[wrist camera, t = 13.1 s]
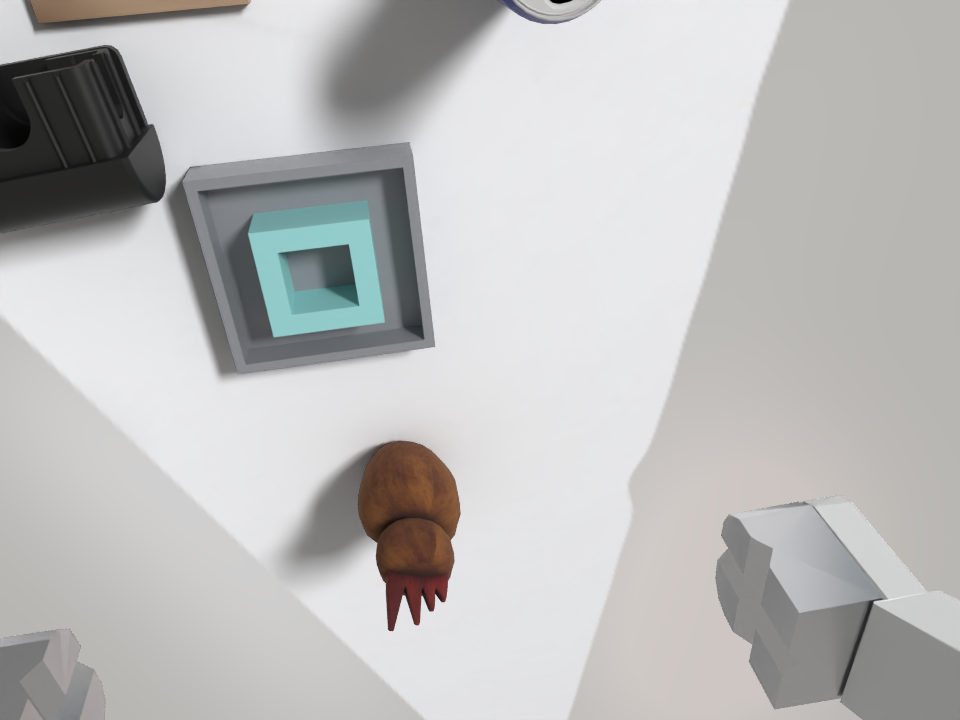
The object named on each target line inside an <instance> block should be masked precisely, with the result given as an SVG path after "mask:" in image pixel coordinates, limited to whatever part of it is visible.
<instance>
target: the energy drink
mask: <svg viewBox="0 0 960 720" xmlns="http://www.w3.org/2000/svg"><path fill="white" fill-rule="evenodd" d="M498 1H499V2H501V3H502V4H504V5H505V6H506V7H508V8H509V9H511V10H512V11H514V12H515V13H517V14H518V15H520V16H522V17H524V18H526V19H528V20H530V21H533V22H538V23H542V24H558V23H562V22H567V21H570V20H573V19H575V18H577V17H579V16H581V15H583V14H585V13H586V12H588V11H589V10H590V9H592V8H593V7H595V6H596V5H597V4H598V3H599V2H600V1H601V0H498Z"/></svg>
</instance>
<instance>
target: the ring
mask: <svg viewBox="0 0 960 720" xmlns="http://www.w3.org/2000/svg"><path fill="white" fill-rule="evenodd" d="M248 236H249V240H250V244H251V248H252V252H253V256H254V260H255V264H256V268H257V272H258V276H259V280H260V284H261V288H262V292H263V296H264V300H265V304H266V308H267V312H268V316H269V320H270V324H271V328H272V332H273V336H274V337H280V336H288V335H295V334H303V333H310V332H318V331H325V330H332V329H340V328H347V327H355V326H362V325H370V324H377V323H385V320H384V310H383V301H382V294H381V287H380V281H379V274H378V268H377V261H376V254H375V248H374V241H373V235H372V228H371V222H370V215H369V209H368V202H367V200H365V201H357V202H348V203H340V204H331V205H323V206H314V207H306V208H297V209H289V210H281V211H272V212H264V213H255V214H253V217H252V221H251V225H250V228H249V232H248ZM346 244H349V248H350V254H351V260H352V265H353V271H354V277H355V283H356V284H351V285H343V286H335V287H327V288H320V289H312V290H304V291H296V292H294V288H293V283H292V279H291V274H290V270H289V265H288V261H287V256H286V252H289V251H297V250H305V249H313V248H321V247H330V246H338V245H346Z"/></svg>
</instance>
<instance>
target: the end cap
mask: <svg viewBox="0 0 960 720" xmlns="http://www.w3.org/2000/svg"><path fill="white" fill-rule="evenodd" d="M165 186H166V174H165V165H164V159H163V155H162V150H161V146H160V143H159V140H158V136H157V133H156V131H155V128H154V125H153V124H150V125H148V124H147V120H146V118H145V115H144V112H143V110H142V107H141V105H140V102H139V100H138V97H137V95H136V92H135V89H134V87H133V84H132V82H131V79H130V77H129V74H128V71H127V69H126V66H125V64H124V61H123V59H122V56H121V54H120V53H119V51H118V50H117V49H116V48H114V47H113V46H109V45H103V46H98V47H92V48H87V49H82V50H76V51H71V52H66V53H60V54H55V55H50V56H45V57H39V58H34V59H29V60H23V61H18V62H13V63H7V64H2V65H0V233H5V232H10V231H15V230H20V229H25V228H30V227H35V226H40V225H45V224H50V223H55V222H60V221H65V220H70V219H75V218H80V217H85V216H90V215H95V214H100V213H105V212H110V211H115V210H120V209H125V208H130V207H135V206H140V205H145V204H150V203H155V202H158V201H159V200H160V199H161V198H162V197H163V195H164V192H165Z"/></svg>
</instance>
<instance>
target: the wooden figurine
mask: <svg viewBox="0 0 960 720" xmlns="http://www.w3.org/2000/svg"><path fill="white" fill-rule="evenodd" d="M358 510H359V516H360V519H361V522H362V524H363V527H364V529H365V531H366V533H367V535H368V536H369V537H370V538H372V539H373V540H374V541H375V542H377V543H378V544H377V550H376V561H377V566H378V569H379V572H380V574H381V577H382V579H383V581H384V582H385V583H386V601H387V619H388V630H389V631H393V630H394V627H395V623H396V619H397V615H398V611H399V607H400V603H401V599H402V595H405V596H406V599H407V602H408V605H409V608H410V612H411V615H412V618H413V621H414V624H415V625H419V623H420V611H421V596H422V595H423V597H424V600H425V602H426V605H427V607H428V609H429V611H434V607H435V594H436V595H437V597H438V598H439V599H440V601H441V602H445V600H446V596H447V588H448V580H449V578H450V575H451V571H452V568H453V564H454V552H453V548H452V545H451V541H450V540H451V539H452V538H453V536H454V535H455V532H456V528H457V524H458V521H459V517H460V502H459V497H458V492H457V487H456V482H455V479H454V477H453V475H452V474H451V472H450V470H449V469H448V468H447V467H446V465H445V464H444V463H443V462H442V461H441V460H440V459H439V458H438V457H437V456H436V455H435V454H434V453H433V452H432V451H431V450H429V449H428V448H426V447H425V446H423V445H420V444H417V443H414V442H408V441H396V442H392V443H388V444H386V445H385V446H383V447H382V448H381V449H379V450H378V451H377V452H376V454H375V455H374V456H373V457H372V459H371V460H370V461H369V463H368V464H367V466H366V469H365V472H364V476H363V479H362V482H361V486H360V490H359V495H358Z"/></svg>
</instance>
